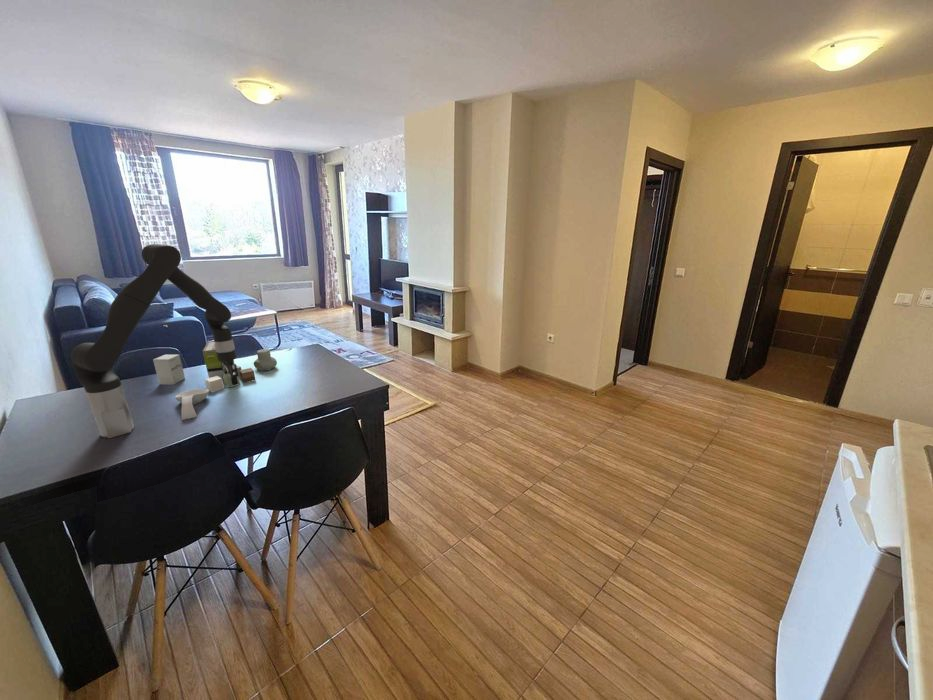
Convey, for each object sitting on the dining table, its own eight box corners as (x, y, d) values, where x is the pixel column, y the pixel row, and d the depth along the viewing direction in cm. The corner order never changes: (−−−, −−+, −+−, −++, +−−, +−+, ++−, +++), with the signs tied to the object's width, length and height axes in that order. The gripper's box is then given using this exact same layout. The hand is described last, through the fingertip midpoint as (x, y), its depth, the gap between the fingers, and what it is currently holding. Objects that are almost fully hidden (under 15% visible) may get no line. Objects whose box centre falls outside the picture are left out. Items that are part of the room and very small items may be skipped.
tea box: (213, 368, 196) (207, 341, 192) (235, 366, 200) (230, 339, 196) (208, 379, 183) (201, 350, 179) (232, 376, 187) (226, 347, 183)
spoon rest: (178, 399, 163) (175, 384, 161) (211, 393, 169) (207, 378, 166) (171, 423, 144) (167, 406, 141) (208, 415, 149) (204, 399, 147)
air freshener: (279, 368, 198) (277, 350, 194) (264, 373, 191) (261, 354, 188) (267, 364, 203) (264, 346, 200) (252, 369, 196) (249, 350, 193)
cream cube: (223, 388, 173) (221, 378, 172) (211, 392, 170) (209, 381, 168) (219, 385, 176) (217, 375, 175) (207, 389, 172) (204, 379, 171)
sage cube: (240, 384, 178) (238, 374, 177) (228, 387, 175) (226, 377, 173) (236, 381, 181) (234, 371, 180) (224, 384, 178) (222, 374, 176)
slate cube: (242, 376, 187) (240, 366, 186) (232, 379, 183) (230, 370, 182) (236, 374, 190) (235, 365, 188) (226, 377, 185) (224, 368, 184)
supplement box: (174, 384, 176) (167, 359, 172) (158, 384, 177) (152, 359, 173) (185, 378, 183) (179, 354, 179) (170, 378, 184) (164, 354, 180)
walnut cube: (255, 380, 183) (253, 370, 181) (244, 382, 180) (242, 373, 178) (252, 377, 186) (250, 367, 185) (241, 379, 183) (239, 370, 181)
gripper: (240, 350, 171) (246, 383, 176) (228, 344, 180) (235, 376, 185) (221, 354, 165) (228, 388, 170) (210, 347, 174) (217, 380, 179)
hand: (232, 382), depth 178 cm, fingers open, 7 cm apart
